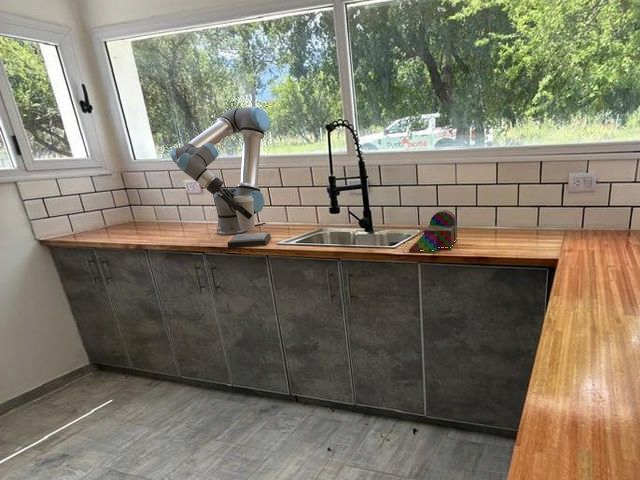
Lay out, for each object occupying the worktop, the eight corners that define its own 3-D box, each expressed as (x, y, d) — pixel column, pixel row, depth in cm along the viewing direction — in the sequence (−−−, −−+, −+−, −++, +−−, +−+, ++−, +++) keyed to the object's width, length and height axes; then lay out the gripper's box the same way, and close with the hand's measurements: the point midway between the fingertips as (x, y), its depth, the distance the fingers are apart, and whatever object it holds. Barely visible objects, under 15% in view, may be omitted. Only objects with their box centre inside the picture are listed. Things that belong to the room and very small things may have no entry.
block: (421, 240, 212) (420, 209, 207) (456, 240, 209) (456, 209, 204) (409, 252, 189) (408, 218, 184) (449, 253, 186) (449, 218, 181)
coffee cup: (261, 226, 218) (256, 195, 213) (252, 230, 209) (247, 197, 204) (242, 227, 219) (237, 195, 214) (233, 230, 210) (227, 197, 205)
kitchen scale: (235, 240, 224) (234, 234, 223) (271, 238, 226) (270, 232, 225) (228, 247, 208) (226, 241, 207) (266, 245, 210) (265, 238, 209)
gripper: (211, 186, 215) (251, 218, 223) (199, 191, 195) (243, 225, 203) (221, 174, 214) (260, 207, 222) (210, 178, 194) (254, 213, 202)
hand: (252, 215), depth 213 cm, fingers closed on coffee cup, 10 cm apart
